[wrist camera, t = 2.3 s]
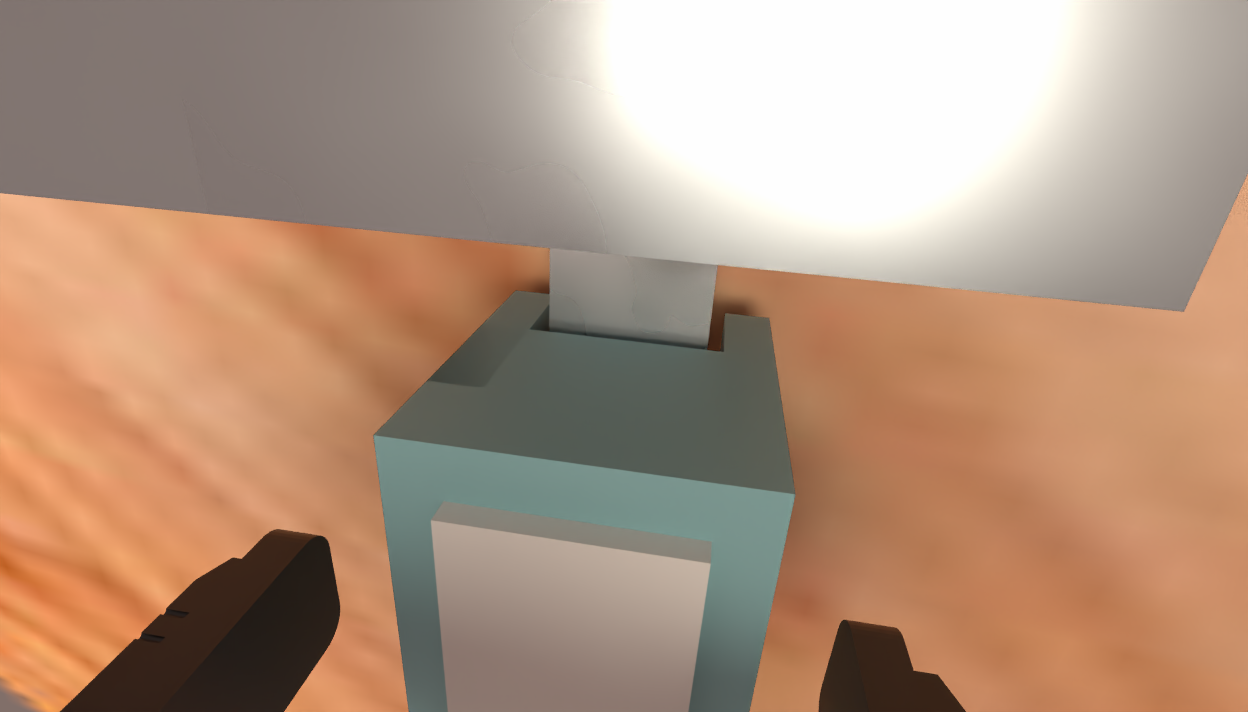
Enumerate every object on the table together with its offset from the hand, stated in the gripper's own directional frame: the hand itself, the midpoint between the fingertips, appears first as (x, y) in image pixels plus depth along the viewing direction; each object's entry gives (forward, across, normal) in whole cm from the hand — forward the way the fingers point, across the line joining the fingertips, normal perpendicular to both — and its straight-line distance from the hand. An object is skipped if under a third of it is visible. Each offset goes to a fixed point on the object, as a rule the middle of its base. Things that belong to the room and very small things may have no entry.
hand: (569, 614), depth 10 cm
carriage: (+5, 0, 0) cm, 5 cm away
